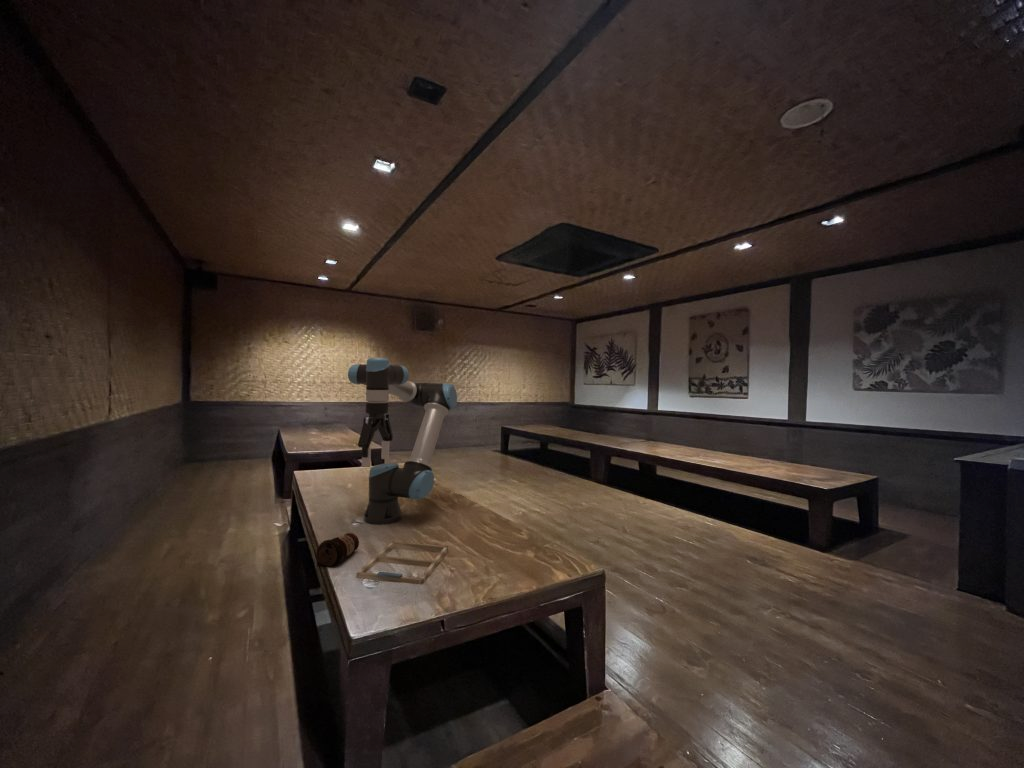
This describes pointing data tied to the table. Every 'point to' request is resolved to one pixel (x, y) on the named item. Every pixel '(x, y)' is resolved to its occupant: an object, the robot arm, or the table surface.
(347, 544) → the coffee cup
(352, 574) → the table surface
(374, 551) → the table surface
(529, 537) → the table surface
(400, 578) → the wooden frame
